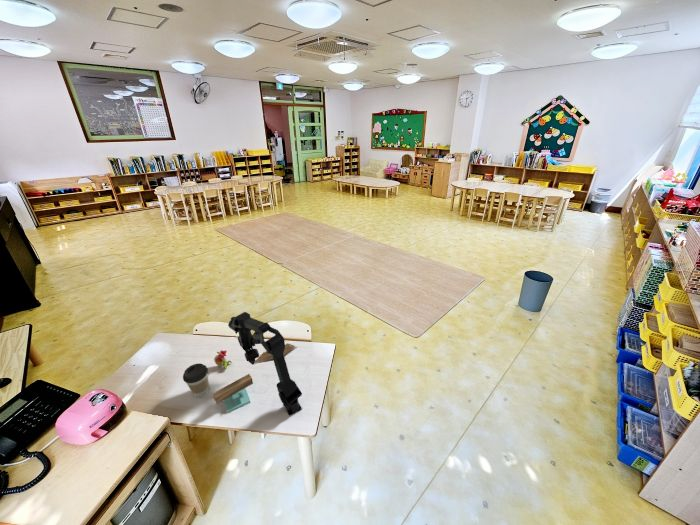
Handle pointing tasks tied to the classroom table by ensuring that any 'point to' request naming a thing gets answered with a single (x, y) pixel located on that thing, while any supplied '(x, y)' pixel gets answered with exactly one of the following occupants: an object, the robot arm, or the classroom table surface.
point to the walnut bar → (232, 388)
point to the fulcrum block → (237, 400)
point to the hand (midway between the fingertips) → (250, 358)
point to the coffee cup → (197, 379)
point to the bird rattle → (221, 359)
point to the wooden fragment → (267, 356)
